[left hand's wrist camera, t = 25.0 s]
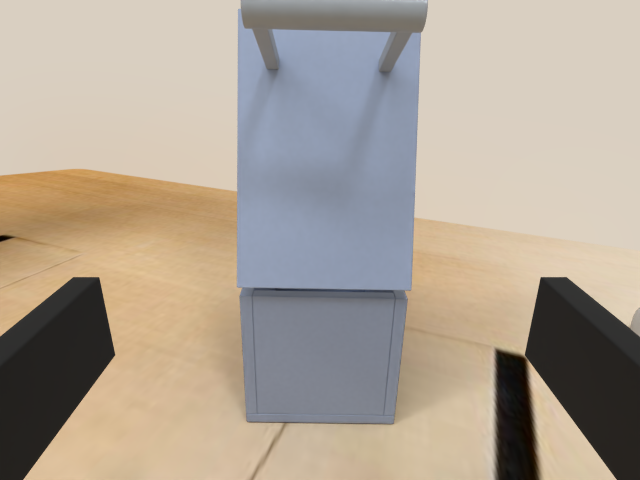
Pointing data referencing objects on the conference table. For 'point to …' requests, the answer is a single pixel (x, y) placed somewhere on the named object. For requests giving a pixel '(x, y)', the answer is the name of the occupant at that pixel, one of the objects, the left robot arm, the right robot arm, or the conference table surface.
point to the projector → (636, 322)
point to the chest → (321, 354)
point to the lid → (327, 142)
